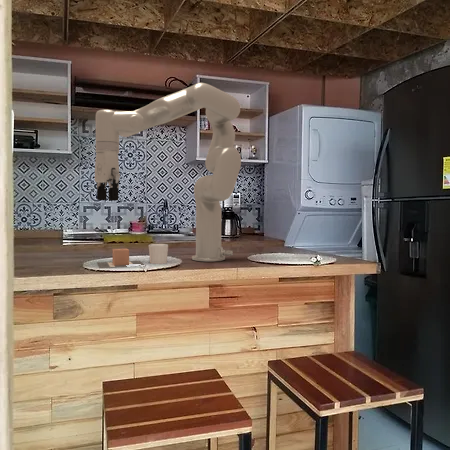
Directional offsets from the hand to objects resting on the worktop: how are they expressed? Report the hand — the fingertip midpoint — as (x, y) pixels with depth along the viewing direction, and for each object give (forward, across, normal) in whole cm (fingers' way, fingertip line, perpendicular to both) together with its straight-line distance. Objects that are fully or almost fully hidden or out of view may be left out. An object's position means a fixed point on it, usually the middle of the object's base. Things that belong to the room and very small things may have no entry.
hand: (107, 200), depth 150 cm
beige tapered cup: (+22, +4, +17) cm, 28 cm away
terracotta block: (+22, +1, +4) cm, 22 cm away
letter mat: (+22, +1, +4) cm, 23 cm away
